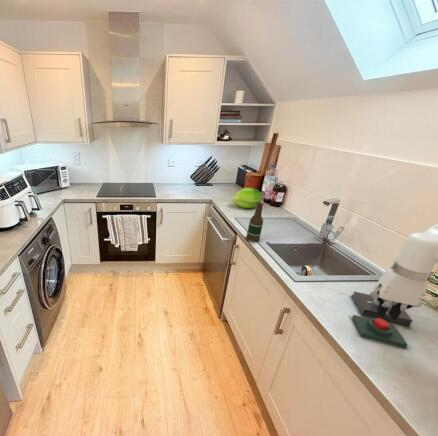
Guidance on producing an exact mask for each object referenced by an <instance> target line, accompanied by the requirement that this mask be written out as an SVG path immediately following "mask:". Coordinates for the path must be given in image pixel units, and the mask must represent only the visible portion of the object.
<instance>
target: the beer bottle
mask: <svg viewBox="0 0 438 436" xmlns="http://www.w3.org/2000/svg"><path fill="white" fill-rule="evenodd" d="M263 207H264V203H263V202H260V203H257V205H256V206H255V210H254V214H253V215H252V217H251V218H250V219H249V223H248V228H247V234H246V239H247V241H249V242H253V243H257V242H260V238H261V234H262V230H263V225H264V219H263V217H262V212H263Z"/></svg>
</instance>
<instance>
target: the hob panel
mask: <svg viewBox="0 0 438 436" xmlns="http://www.w3.org/2000/svg"><path fill="white" fill-rule="evenodd" d="M351 299H352V301H353V302H354V304H355V306H356V308H357V309H358V312H359V314H360V316H361V317H365V318H380V319H383V320H385V321H387V322H388V323H391V324H396V325H400V326H404V327H410V326H411V324H412V322H413V319H412V318H411V317H410V315H409V314H408V313H407V312H406V310H405V311H402V312H401V313H400V315H399V317H397V319H396V320H394V319H392V317H391V316H390V314H389V311H390V310H391V308H392V306H393V305H396V303H397V302H394V301H393V303H392V304H391V306H390V308H388V307H387V308H388V310H387V312H386V314H385V316H384V317H381V316H380V315H379V313H378V312H377V307H378V305H375V304H374V303H373V300H374V298H373V297H371V295H370V293H364V292H358V291H353V293H352V294H351Z"/></svg>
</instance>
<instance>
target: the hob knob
mask: <svg viewBox="0 0 438 436" xmlns="http://www.w3.org/2000/svg"><path fill="white" fill-rule="evenodd" d="M379 295H380V294H379ZM379 295H378V296H379ZM373 303H374V304H375V305H379V301H378V300H376V299H374V300H373ZM392 303H393V301H390V302H389V304H388V306H387V307H388V308H390V306H391V304H392Z"/></svg>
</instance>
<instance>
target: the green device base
mask: <svg viewBox="0 0 438 436" xmlns="http://www.w3.org/2000/svg"><path fill="white" fill-rule="evenodd" d="M375 319H376V318H371V317H366V316H362V315H357V314H353V315H352V317H351V320H352V322H353V323H354V325H355V327H356V329H357V331H358V333H359V335H360V337H361V338H365V339H369V340H373V341H377V342H381V343H384V344H388V345H392V346H396V347H399V348H402V349H406V348H407V347H408V346H409V345H408V343H407V341H406V340H405V338H404V337H403V335H402V333H400V331H399V330H398V328H397V327H396V325H395V323H391V322H388V323H389V327H388V329H387V330H383V329H380V328H378V327H377V326H375V325H374V321H375Z"/></svg>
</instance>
